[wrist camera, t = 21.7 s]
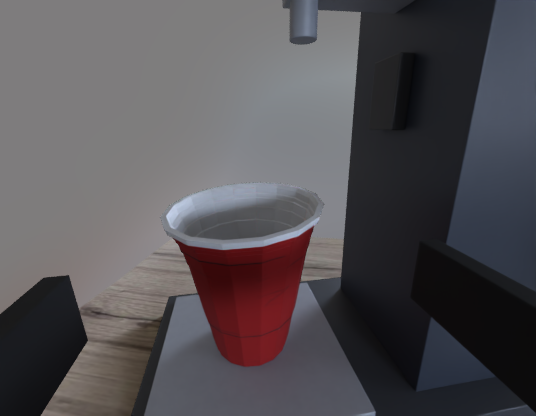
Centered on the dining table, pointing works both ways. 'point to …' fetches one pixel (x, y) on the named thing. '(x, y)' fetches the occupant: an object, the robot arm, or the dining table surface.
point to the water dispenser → (392, 227)
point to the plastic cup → (246, 261)
